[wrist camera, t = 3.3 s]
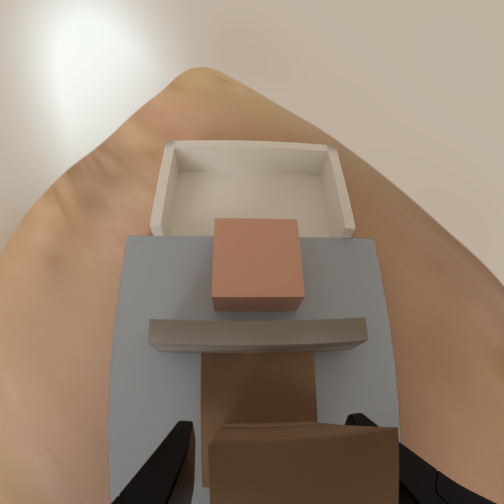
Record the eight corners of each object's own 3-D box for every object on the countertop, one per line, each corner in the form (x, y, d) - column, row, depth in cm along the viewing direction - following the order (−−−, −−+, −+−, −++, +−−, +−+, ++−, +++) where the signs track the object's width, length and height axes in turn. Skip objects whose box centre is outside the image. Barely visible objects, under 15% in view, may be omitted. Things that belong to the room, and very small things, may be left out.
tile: (296, 310, 16) (304, 296, 14) (214, 311, 15) (211, 296, 14) (290, 239, 17) (297, 219, 16) (216, 239, 17) (214, 218, 15)
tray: (340, 254, 19) (355, 228, 17) (160, 252, 19) (149, 225, 16) (325, 175, 23) (335, 145, 20) (172, 172, 22) (166, 141, 19)
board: (383, 523, 12) (398, 532, 10) (127, 533, 11) (115, 545, 9) (361, 254, 20) (373, 238, 18) (136, 252, 19) (127, 235, 17)
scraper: (355, 472, 12) (508, 516, 3) (159, 479, 11) (50, 564, 2) (346, 332, 15) (471, 220, 6) (161, 333, 15) (70, 210, 6)
